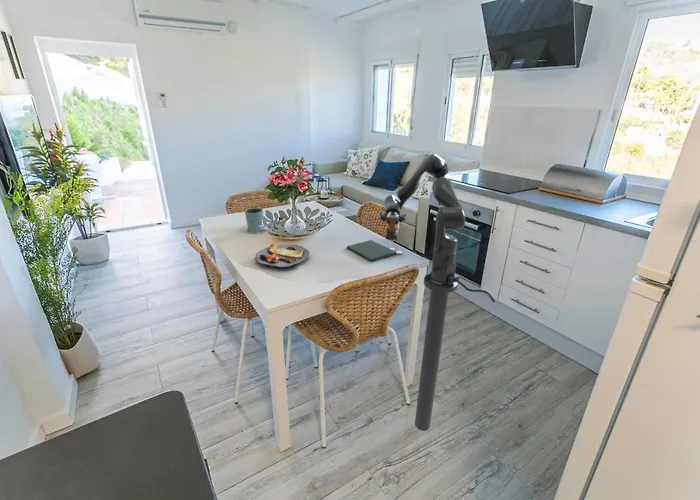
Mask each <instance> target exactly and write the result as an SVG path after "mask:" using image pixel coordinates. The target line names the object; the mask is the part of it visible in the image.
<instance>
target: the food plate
mask: <svg viewBox="0 0 700 500" xmlns="http://www.w3.org/2000/svg"><path fill="white" fill-rule="evenodd" d="M310 253H311V252H310V250H309V249H308V248H307V247H304V246H303V245H297V244H288V243H287V244H278V245H275V244H271V245H270V246H268V247H265V248H263V249H261V250H259V251H258V252H257V253H256V254H255V257H254V259H255V260H256V262H258V264H262V265H266V266H269V267H278V268H285V267H291V266H293V265H296V264H297V265H298V264H299V263H302V262H303V261H305V260H306V259H307V258H308V257H310V255H311V254H310Z"/></svg>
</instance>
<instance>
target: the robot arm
mask: <svg viewBox="0 0 700 500" xmlns="http://www.w3.org/2000/svg"><path fill="white" fill-rule="evenodd" d="M425 173H427V174H428V175H430V176H431V177H432V178H434V179H435V180H434V181H433V183H432V185H431V190H432V194H433V198H434V199H435V201H436V202H437V203H438V204H439V205H441V206H440V207H439V208H438V210H437V212H436V220H435V221H436V222H435V232H434V233H435V234H434V245H433V253H432V260H431V270H430V273H429V274H430V275H431V277H430V280H431V281H432V282H433V283H435V284H438V285H443V286H446V285H449V284H452V283H454V282H457V283H458V285H460V286H461V287H463V288H464V290H466V291H468V292H470V293H471V292H473V293H484V294H486V295H487V296H488V297H489V298H490V301H492V303H496V300H495V298H494V297H493V295H492V294H491V293H490V292H489V291H487V290H484V289H473V288H469V287H467V285H465V284H464V283H463V282H462V281H459V280H460V275H458V274H456V270H457V262H456V254H457V248H458V238H457V237H455V236H454V235H452V234H449V233H447V232H446V230H449V231H453V230H454V231H457V230H461V229H463V228H464V227H465V225H466V214H465V211H464V209H463V206H462V205H461V203H460V201H459V199H458V197H457V194H456V191H455V188H454V185H453V182H452V179H451V176H450V172H449V165H448V163H447V162H446V161H445V160H444V159H442V158H441V157H440V156H438V155H437V154H435V153H431V154H430V155H428V156H427V157H426V158H424V160H423V161H422V162H421V164H420V165H419V166H418V168H416V170H415V171H414V173H413V174H412V175H411V177H410V178H409V179H408V180H407V181H406V183H405V184H403V185H402V186H401V187H400V188H399V189H397V192H396V196H395V195H392V194H390V195H387V196H386V197H385V198H384V200H383V205H384V207H385V211H384V212H385V213H382V212H380V213H379V215H378V217H379V219H380V220H381V221H382V222H386V223H385V224H387V225H389V217H390V215H396V222H395V225H398V224H399V223H403V222H405V221H406V220H407V214H402V213H401V210H403V209H402V208H403V207H404V206H405V204H406V202H407V201H408V200H409V199H410V198H411V197H412V196H413V195H415V193H417V190H418V188H419V184H420V180H421V178H422V176H423V175H424V174H425Z"/></svg>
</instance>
